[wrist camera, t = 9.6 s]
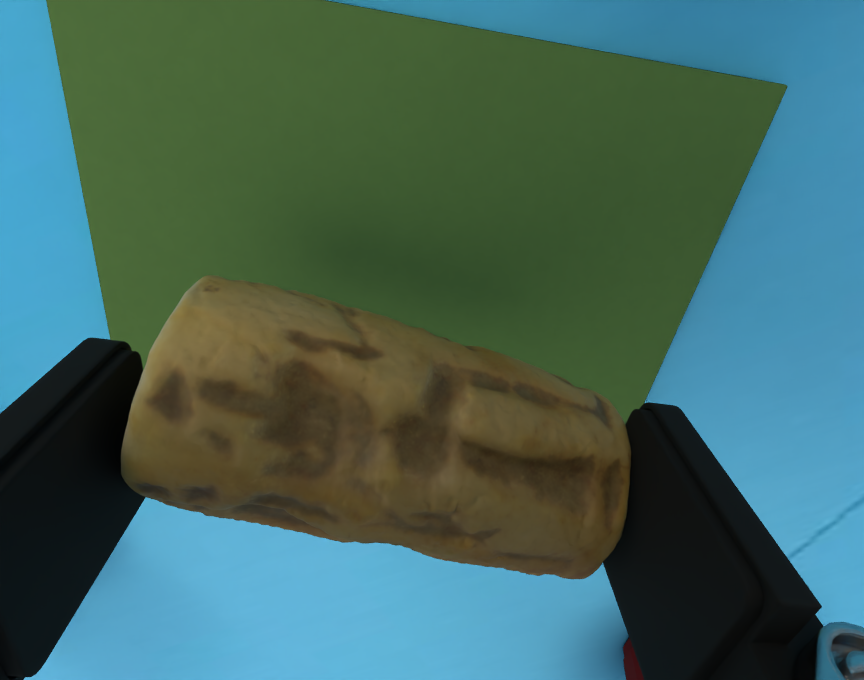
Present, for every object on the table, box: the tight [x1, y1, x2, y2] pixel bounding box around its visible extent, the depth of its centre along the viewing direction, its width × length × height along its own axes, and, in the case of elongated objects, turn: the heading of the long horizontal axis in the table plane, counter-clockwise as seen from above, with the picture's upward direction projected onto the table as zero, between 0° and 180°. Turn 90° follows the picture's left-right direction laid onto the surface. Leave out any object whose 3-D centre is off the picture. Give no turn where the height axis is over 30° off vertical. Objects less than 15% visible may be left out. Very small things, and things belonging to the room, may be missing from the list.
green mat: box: [46, 0, 787, 425], centre depth 17 cm, size 20×14×1 cm
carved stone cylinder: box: [121, 275, 631, 579], centre depth 10 cm, size 8×4×4 cm, turn 69°
